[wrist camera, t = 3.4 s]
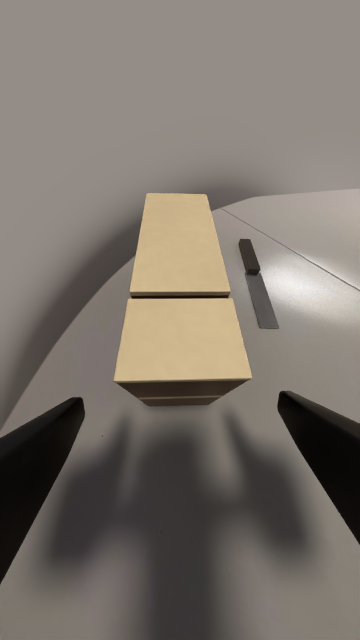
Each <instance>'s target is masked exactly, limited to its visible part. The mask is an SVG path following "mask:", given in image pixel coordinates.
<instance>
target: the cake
mask: <svg viewBox="0 0 360 640" xmlns="http://www.w3.org/2000/svg"><path fill="white" fill-rule="evenodd" d="M129 292H130V295H131V297H132V299H211V298H228V296H229V294H230V292H231V290H230V286H229V282H228V278H227V274H226V270H225V266H224V262H223V258H222V254H221V250H220V246H219V242H218V238H217V234H216V230H215V226H214V222H213V218H212V214H211V211H210V207H209V203H208V199H207V195H206V194H158V193H157V194H156V193H147V196H146V201H145V207H144V213H143V218H142V224H141V230H140V235H139V241H138V246H137V252H136V258H135V263H134V269H133V274H132V280H131V286H130V291H129Z"/></svg>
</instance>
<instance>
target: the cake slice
mask: <svg viewBox="0 0 360 640" xmlns="http://www.w3.org/2000/svg"><path fill="white" fill-rule="evenodd" d="M250 379H252V375H251V371H250V367H249V363H248V359H247V355H246V351H245V347H244V343H243V339H242V335H241V331H240V327H239V323H238V319H237V315H236V311H235V307H234V303H233V299H232V298H211V299H128V302H127V308H126V313H125V319H124V325H123V330H122V336H121V341H120V347H119V353H118V358H117V364H116V370H115V375H114V382H115V383H117V384H119V385H120V386H121V387H123V388H124V389H126V390H127V391H128V392H130V393H131V394H133V395H134V396H135V397H137V398H138V399H139V400H141V401H142V402H144V403H145V404H146V405H148V406H177V405H209V404H210V403H212V402H213V401H215V400H217V399H218V398H220V397H222V396H224V395H225V394H227V393H228V392H230V391H231V390H233V389H235V388H236V387H238V386H240V385H241V384H243V383H244V382H246V381H248V380H250Z"/></svg>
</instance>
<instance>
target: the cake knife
mask: <svg viewBox="0 0 360 640" xmlns="http://www.w3.org/2000/svg"><path fill="white" fill-rule="evenodd" d="M239 247H240V251H241V254H242V258H243V261H244V265H245V269H246V273H245V275H246V279H247V283H248V287H249V290H250V294H251V298H252V301H253V305H254V309H255V312H256V316H257V320H258V324H259V327H260V328H275V329H278V328H279V325H278V322H277V319H276V317H275V314H274V311H273V308H272V305H271V302H270V299H269V296H268V293H267V290H266V287H265V284H264V282H263V279H262V276H261V273H259V271H260V266H259V263H258V261H257V258H256V255H255V252H254V249H253V246H252V243H251V241H250V239H240V241H239Z"/></svg>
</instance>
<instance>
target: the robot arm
mask: <svg viewBox="0 0 360 640" xmlns="http://www.w3.org/2000/svg"><path fill="white" fill-rule="evenodd" d="M277 407H278V412H279V414H280V416H281V417H282V419H283V421H284V423H285V425H286V427H287V429H288V431H289V432H290V434H291V436H292V438H293V440H294V442H295V444H296V445H297V447H298V449H299V450H300V452H301V454H302V455H303V457H304V458H305V460H306V462H307V463H308V465H309V466H310V468H311V469H312V471H313V472H314V474H315V476H316V477H317V479H318V480H319V482H320V483H321V485H322V487H323V488H324V490H325V491H326V493H327V494H328V496H329V497H330V499H331V501H332V502H333V504H334V505H335V507H336V508H337V510H338V512H339V513H340V515H341V516H342V518H343V519H344V521H345V522H346V524H347V526H348V527H349V529H350V530H351V532H352V533H353V535H354V537H355V538H356V540H357V541H358V543H359V544H360V424H359V423H357V422H355V421H353V420H351V419H349V418H346V417H344V416H342V415H340V414H338V413H336V412H334V411H332V410H329V409H327V408H325V407H323V406H321V405H319V404H317V403H315V402H312V401H310V400H308V399H306V398H304V397H302V396H300V395H297V394H295V393H293V392H291V391H281V392H280V393H279V399H278V405H277ZM84 417H85V410H84V403H83V399H82V398H81V397H72V398H70V399H68V400H66V401H65V402H63V403H61V404H59V405H58V406H56V407H54V408H52V409H51V410H49V411H47V412H45V413H44V414H42V415H40V416H38V417H37V418H35V419H33V420H31V421H30V422H28V423H26V424H24V425H23V426H21V427H19V428H17V429H16V430H14V431H12V432H10V433H9V434H7V435H5V436H3V437H1V438H0V584H1V582H2V580H3V578H4V577H5V575H6V573H7V571H8V569H9V567H10V565H11V563H12V561H13V560H14V558H15V556H16V554H17V552H18V550H19V548H20V546H21V544H22V543H23V541H24V539H25V537H26V535H27V533H28V531H29V529H30V527H31V526H32V524H33V522H34V520H35V518H36V516H37V514H38V512H39V510H40V509H41V507H42V505H43V503H44V501H45V499H46V497H47V495H48V493H49V492H50V490H51V488H52V486H53V484H54V482H55V480H56V478H57V476H58V475H59V473H60V471H61V469H62V467H63V465H64V463H65V461H66V459H67V457H68V455H69V453H70V451H71V448H72V446H73V443H74V441H75V439H76V436H77V434H78V432H79V429H80V427H81V425H82V422H83V420H84Z"/></svg>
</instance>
